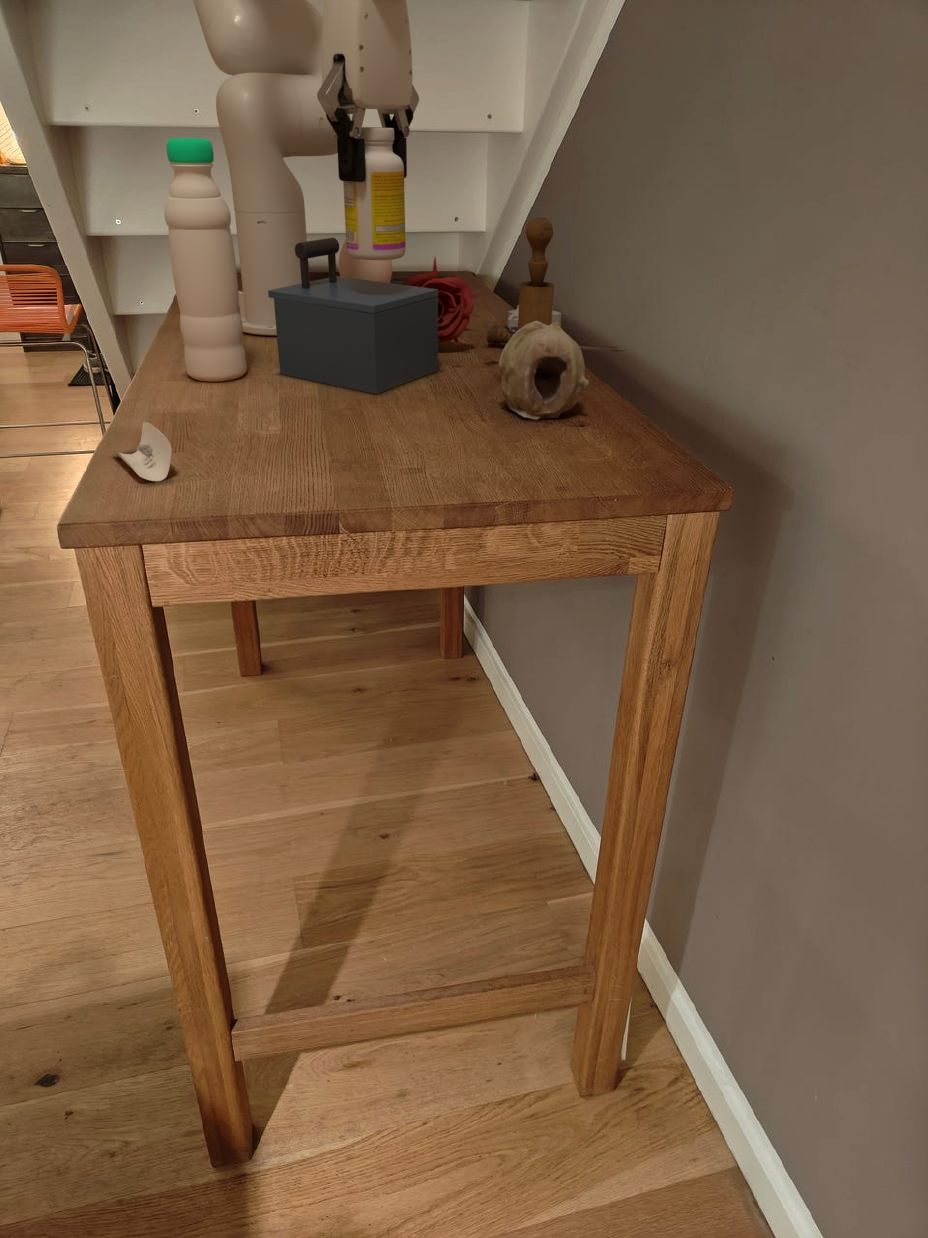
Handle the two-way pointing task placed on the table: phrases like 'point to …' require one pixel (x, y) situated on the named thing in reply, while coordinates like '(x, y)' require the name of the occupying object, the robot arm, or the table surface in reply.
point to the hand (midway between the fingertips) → (373, 177)
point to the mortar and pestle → (537, 277)
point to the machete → (503, 335)
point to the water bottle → (203, 265)
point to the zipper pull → (513, 319)
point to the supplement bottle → (376, 201)
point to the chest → (357, 344)
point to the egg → (364, 267)
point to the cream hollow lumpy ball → (542, 371)
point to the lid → (345, 285)
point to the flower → (448, 303)
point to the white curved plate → (150, 454)
